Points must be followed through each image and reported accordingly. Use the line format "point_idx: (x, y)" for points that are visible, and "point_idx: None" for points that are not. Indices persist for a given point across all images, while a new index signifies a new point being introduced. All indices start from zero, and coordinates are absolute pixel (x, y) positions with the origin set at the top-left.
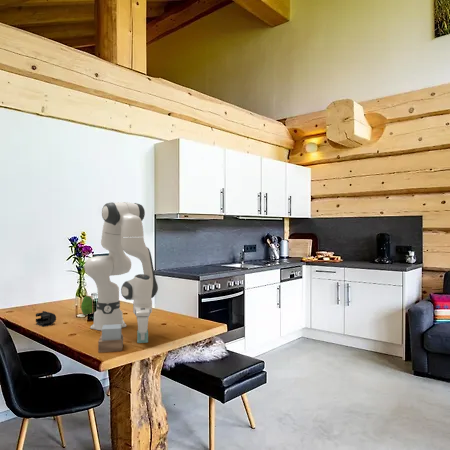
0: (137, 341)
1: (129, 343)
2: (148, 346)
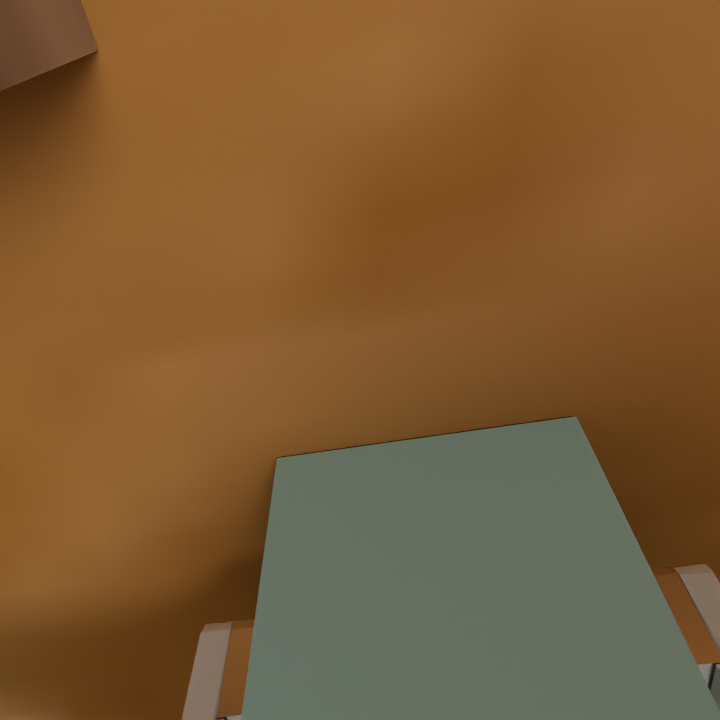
0: (274, 494)
1: (233, 263)
2: (47, 671)
